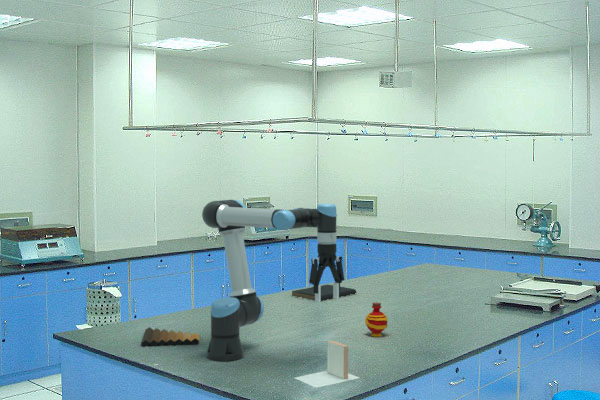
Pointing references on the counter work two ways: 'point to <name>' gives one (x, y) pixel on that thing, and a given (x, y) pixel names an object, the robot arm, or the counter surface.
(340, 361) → the terracotta tile
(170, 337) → the pan flute
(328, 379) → the white rectangular board
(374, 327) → the potion bottle
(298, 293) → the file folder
